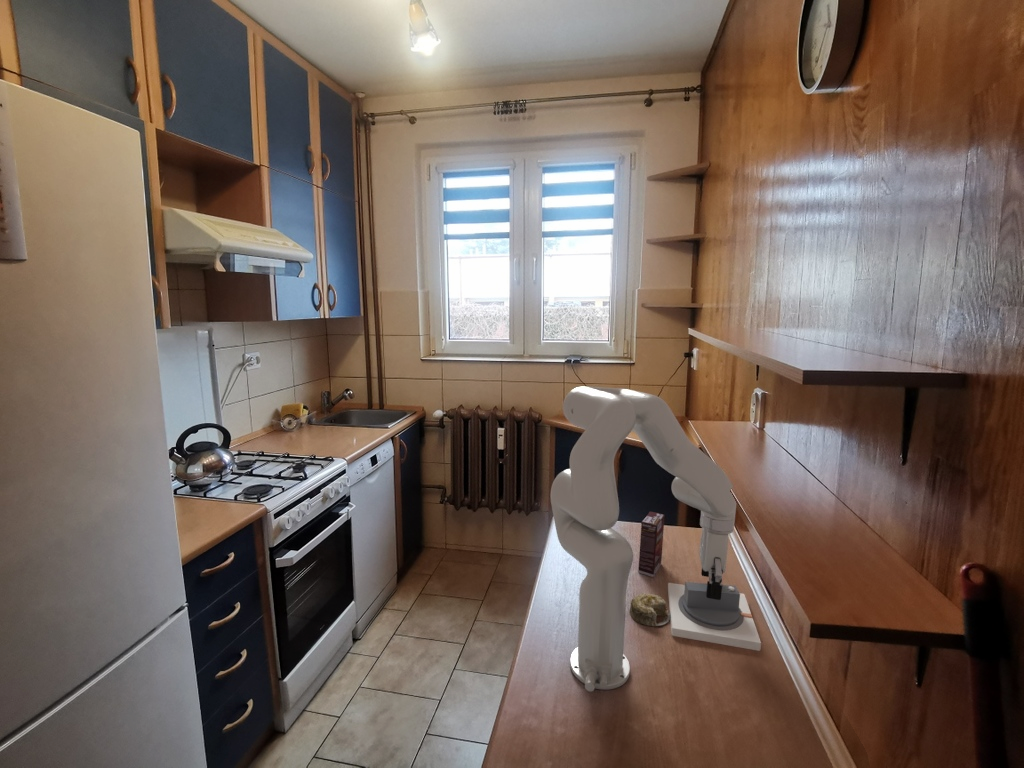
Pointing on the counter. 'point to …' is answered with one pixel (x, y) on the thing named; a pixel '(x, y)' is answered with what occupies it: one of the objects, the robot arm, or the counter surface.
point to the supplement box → (651, 544)
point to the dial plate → (691, 628)
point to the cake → (648, 609)
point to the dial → (712, 604)
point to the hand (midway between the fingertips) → (710, 586)
